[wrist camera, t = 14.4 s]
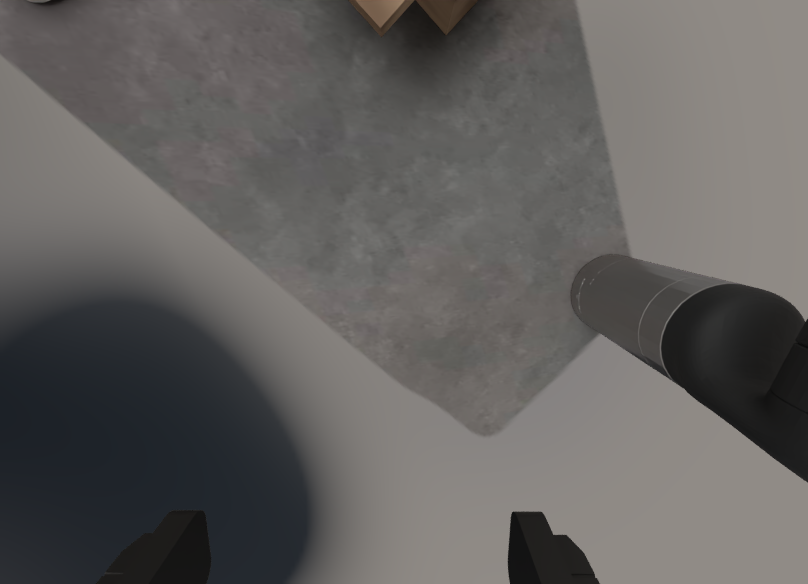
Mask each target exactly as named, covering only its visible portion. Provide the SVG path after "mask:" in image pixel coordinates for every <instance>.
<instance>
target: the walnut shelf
mask: <svg viewBox="0 0 808 584" xmlns="http://www.w3.org/2000/svg"><path fill="white" fill-rule="evenodd" d="M348 1H349V2H350V3H351V4H352V5H353V6H354V7H355V8H356V9H357V11H358V12H359V13H360V14H361V15H362V16H363V17H364V18H365V19H366V20H367V22H368V23H369V24H370V25H371V26H372V27H373V28H374V29H375V30H376V32H377V33H378V34H379V35H380V36H381V37H382V36H383V35H384V34H385V33H386V32H387V31H388V30H389V28H390V27H391V26H392V25H393V24H394V23H395V22H396V21H397V19H398V18H399V17H400V16H401V15H402V14H403V13H404V12H405V10H406V9H407V8H408V7H409V6H410V5H411V4H412V3H413V1H414V0H348ZM416 1H417V2H418V4H419V5H420V6H421V7H422V8H423V9H424V11H425V12H426V13H427V14H428V15H429V16H430V17H431V19H432V20H433V21H434V22H435V23H436V24H437V26H438V27H439V28H440V29H441V30H442V31H443V32H444V34H445V35H447V34H448V33H449V32H450V31H451V30H452V29H453V27H454V26H455V25H456V24H457V23H458V22H459V21H460V20H461V19H462V18H463V17H464V15H465V14H466V13H467V12H468V11H469V10H470V9H471V8H472V7H473V6H474V5H475V4H476V2H477V1H478V0H416Z"/></svg>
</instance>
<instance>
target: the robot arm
mask: <svg viewBox="0 0 808 584" xmlns="http://www.w3.org/2000/svg"><path fill="white" fill-rule="evenodd" d="M571 302H572V306H573V309H574V311H575V313H576V314H577V316H578V317H579V318H580V319H581V320H582V321H583V322H585V323H586V324H587V325H589V326H590V327H592V328H593V329H595V330H596V331H598V332H599V333H601V334H602V335H604V336H605V337H607V338H608V339H610V340H611V341H613V342H614V343H616V344H617V345H619V346H620V347H622V348H623V349H625V350H626V351H628V352H629V353H631V354H632V355H634V356H635V357H637V358H638V359H640V360H641V361H643V362H644V363H646V364H647V365H649V366H650V367H652V368H653V369H655V370H657V371H658V372H660V373H661V374H663V375H664V376H666V377H667V378H669V379H670V380H672V381H673V382H675V383H676V384H678V385H679V386H681V387H682V388H684V389H685V390H686V391H687V392H688V393H689V394H690V395H691V396H692V397H694V398H695V399H696V400H698V401H699V402H700V403H702V404H703V405H704V406H706V407H707V408H709V409H710V410H712V411H713V412H714V413H716V414H717V415H718V416H720V417H721V418H722V419H724V420H725V421H726V422H728V423H729V424H731V425H732V426H733V427H734V428H736V429H737V430H738V431H739V432H741V433H742V434H743V435H745V436H746V437H747V438H748V439H750V440H751V441H753V442H754V443H755V444H756V445H758V446H759V447H760V448H761V449H763V450H764V451H765V452H767V453H768V454H769V455H770V456H772V457H773V458H774V459H776V460H777V461H779V462H780V463H781V464H782V465H784V466H785V467H787V468H788V469H789V470H791V471H792V472H794V473H795V474H796V475H798V476H799V477H801V478H802V479H803V480H805V481H807V482H808V319H807V321H806V322H805V321H804V319H803V317H802V315H801V314H800V313H799V311H798V310H797V309H796V308H795V307H794V306H793V305H792V304H791V303H790V302H788V301H787V300H785V299H784V298H782V297H780V296H778V295H776V294H774V293H772V292H769V291H766V290H762V289H759V288H754V287H750V286H746V285H742V284H738V283H734V282H729V281H725V280H721V279H717V278H713V277H708V276H704V275H700V274H695V273H692V272H688V271H684V270H679V269H675V268H671V267H667V266H663V265H659V264H655V263H651V262H647V261H643V260H638V259H634V258H630V257H626V256H622V255H605V256H601V257H599V258H596V259H594V260H592V261H591V262H589V263H588V264H586V265H585V266H584V267H583V268H582V269H581V270H580V272H579V273H578V275H577V276H576V278H575V280H574V283H573V285H572V290H571ZM210 568H211V552H210V545H209V537H208V530H207V521H206V515H205V513H204V511H202V510H173V511H171V512H169V513H168V514H167V515H166V517H165V518H164V519H163V521H162V522H161V523H160V524H159V526H158V527H157V528H156V530H155V531H154V532H153V533H145V534H143V535H142V536H141V537H140V538H138V539H137V540H136V541H134V542H133V543H132V544H131V545H130V546H128V547H127V548H126V549H124V550H123V551H122V552H121V553H120V555H119V556H118V557H117V558H116V560H115V561H114V562H113V563H112V564H111V566H110V567H109V568H108V569H107V571H106V572H105V576H102V577H101V578H100V579H99V581H98V582H97V583H96V584H206V583H207V580H208V577H209V573H210ZM508 572H509V580H510V584H599V581H598V580H597V578H595V574H594V572H593V570H592V568H591V566H590V564H589V562H588V560H587V558H586V556H585V554H584V553H583V552H582V551H581V550H580V548H579V547H578V546H577V545H575V543H574V542H573V541H572V540H571V539H570V538H569V537H568V536H567V535H553V533H552V531H551V529H550V526H549V524H548V522H547V520H546V518H545V516H544V514H543V513H542V512H512V514H511V523H510V538H509V550H508Z"/></svg>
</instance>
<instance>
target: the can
mask: <svg viewBox="0 0 808 584" xmlns="http://www.w3.org/2000/svg"><path fill="white" fill-rule="evenodd" d="M28 1H30V2H40V3H44V2H47V1H50V0H28Z"/></svg>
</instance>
